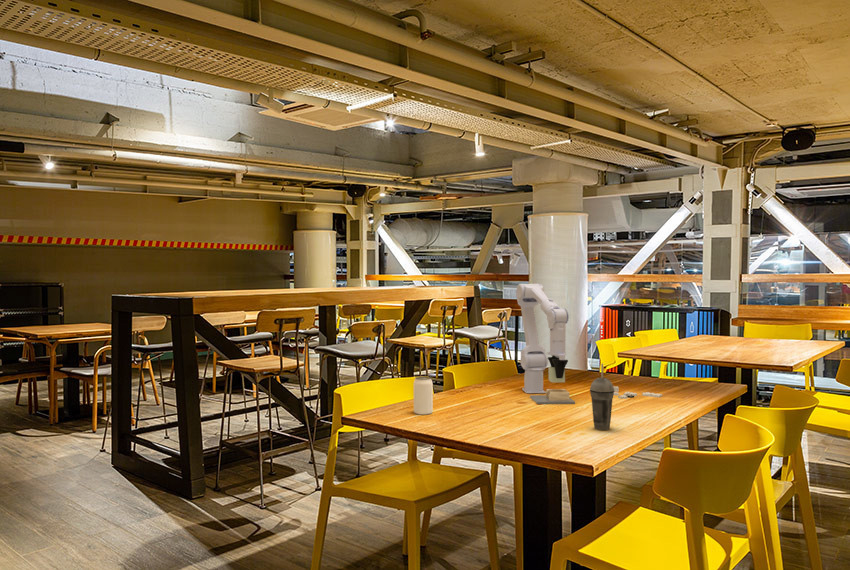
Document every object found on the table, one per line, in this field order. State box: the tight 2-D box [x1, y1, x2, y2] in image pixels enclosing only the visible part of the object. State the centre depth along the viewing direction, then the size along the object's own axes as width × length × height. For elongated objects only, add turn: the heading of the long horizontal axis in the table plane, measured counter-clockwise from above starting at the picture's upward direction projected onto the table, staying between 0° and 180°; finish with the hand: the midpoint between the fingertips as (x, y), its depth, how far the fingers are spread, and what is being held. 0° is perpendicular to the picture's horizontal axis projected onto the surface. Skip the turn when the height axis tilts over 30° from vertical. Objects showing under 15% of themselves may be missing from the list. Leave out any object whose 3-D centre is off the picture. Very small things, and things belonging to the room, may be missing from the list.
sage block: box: [547, 366, 566, 383], centre depth 236 cm, size 5×5×5 cm
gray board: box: [529, 394, 576, 405], centre depth 236 cm, size 13×14×1 cm
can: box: [413, 376, 434, 416], centre depth 214 cm, size 6×6×12 cm
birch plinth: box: [545, 388, 570, 401], centre depth 236 cm, size 7×7×3 cm
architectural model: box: [613, 385, 663, 400], centre depth 245 cm, size 20×24×2 cm
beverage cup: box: [589, 363, 615, 431], centre depth 192 cm, size 7×7×20 cm
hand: (557, 377), depth 236 cm, fingers closed on sage block, 5 cm apart
